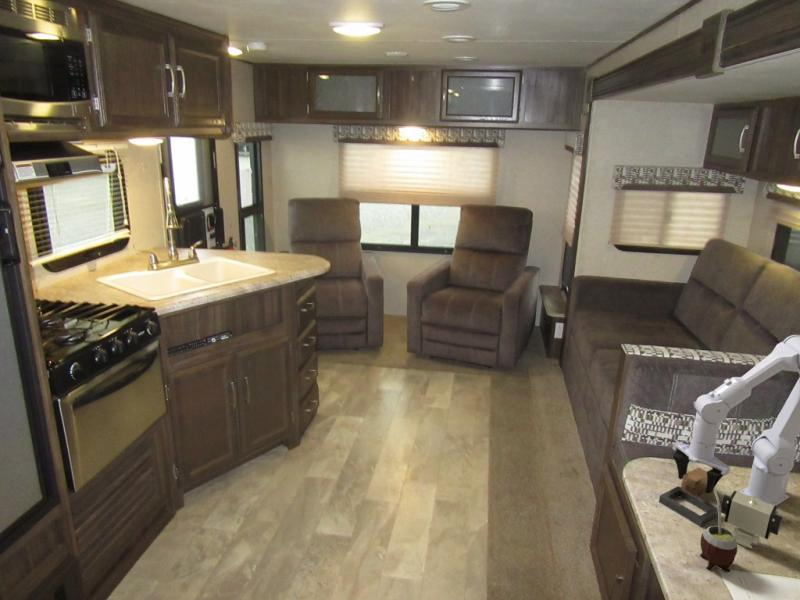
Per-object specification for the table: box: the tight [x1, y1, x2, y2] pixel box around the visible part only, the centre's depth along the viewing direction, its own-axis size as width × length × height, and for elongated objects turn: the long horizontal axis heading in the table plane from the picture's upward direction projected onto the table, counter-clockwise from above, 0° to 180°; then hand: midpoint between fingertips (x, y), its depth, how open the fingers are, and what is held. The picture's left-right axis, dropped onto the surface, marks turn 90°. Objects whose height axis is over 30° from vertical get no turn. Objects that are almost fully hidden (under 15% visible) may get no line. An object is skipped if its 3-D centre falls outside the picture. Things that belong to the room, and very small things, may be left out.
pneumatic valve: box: [720, 490, 784, 550], centre depth 132 cm, size 6×12×12 cm, turn 48°
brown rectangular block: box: [680, 467, 707, 497], centre depth 153 cm, size 7×4×5 cm, turn 122°
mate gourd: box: [699, 489, 738, 573], centre depth 125 cm, size 8×8×15 cm
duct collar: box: [658, 486, 718, 528], centre depth 145 cm, size 8×11×2 cm
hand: (695, 484), depth 153 cm, fingers open, 7 cm apart
